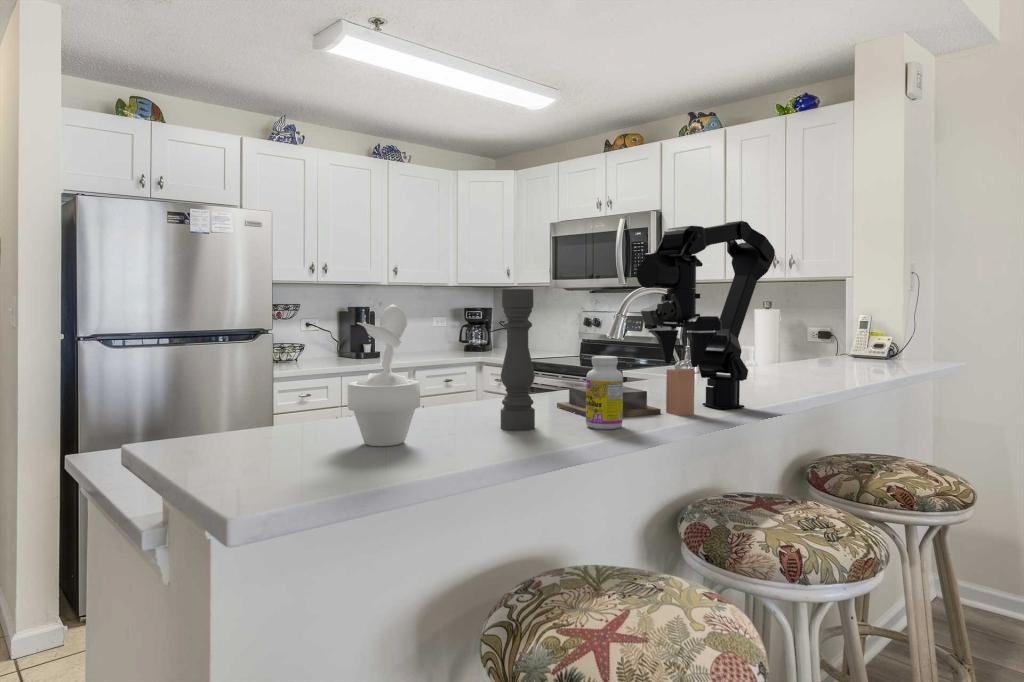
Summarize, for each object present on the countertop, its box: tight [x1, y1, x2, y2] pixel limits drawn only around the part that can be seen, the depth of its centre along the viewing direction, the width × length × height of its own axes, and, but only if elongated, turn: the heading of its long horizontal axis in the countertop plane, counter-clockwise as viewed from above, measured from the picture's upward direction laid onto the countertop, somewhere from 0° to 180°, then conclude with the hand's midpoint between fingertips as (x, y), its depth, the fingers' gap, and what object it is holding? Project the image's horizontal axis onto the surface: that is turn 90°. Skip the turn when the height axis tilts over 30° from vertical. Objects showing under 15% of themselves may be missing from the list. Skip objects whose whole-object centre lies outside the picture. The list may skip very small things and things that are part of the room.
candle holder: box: [500, 288, 536, 432], centre depth 119 cm, size 6×6×25 cm
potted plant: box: [346, 290, 421, 448], centre depth 104 cm, size 13×12×25 cm
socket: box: [556, 385, 662, 418], centre depth 139 cm, size 16×16×4 cm
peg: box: [665, 368, 696, 417], centre depth 135 cm, size 4×4×9 cm
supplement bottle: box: [585, 355, 624, 431], centre depth 119 cm, size 7×7×13 cm
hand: (680, 365), depth 135 cm, fingers open, 9 cm apart
